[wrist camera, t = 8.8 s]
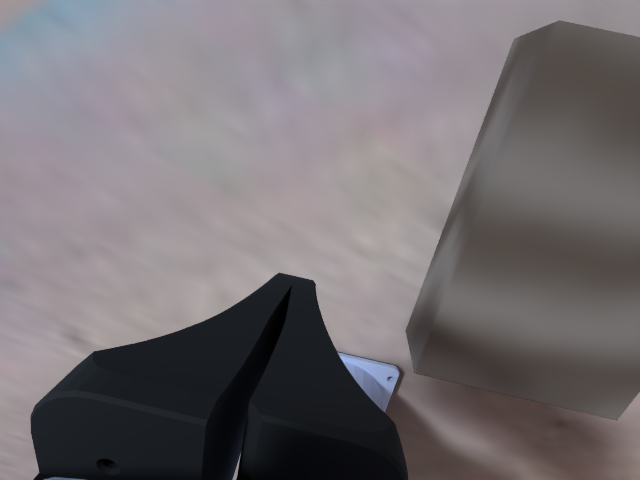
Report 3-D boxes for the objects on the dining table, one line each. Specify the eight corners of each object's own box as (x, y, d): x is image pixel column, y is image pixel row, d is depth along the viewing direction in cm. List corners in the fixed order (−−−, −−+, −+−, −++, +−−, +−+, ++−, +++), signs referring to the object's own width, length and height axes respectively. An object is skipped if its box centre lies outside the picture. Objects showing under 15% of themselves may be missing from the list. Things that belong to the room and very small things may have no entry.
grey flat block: (575, 370, 23) (616, 420, 20) (405, 330, 23) (414, 373, 20) (760, 90, 16) (879, 87, 12) (514, 38, 16) (559, 20, 13)
